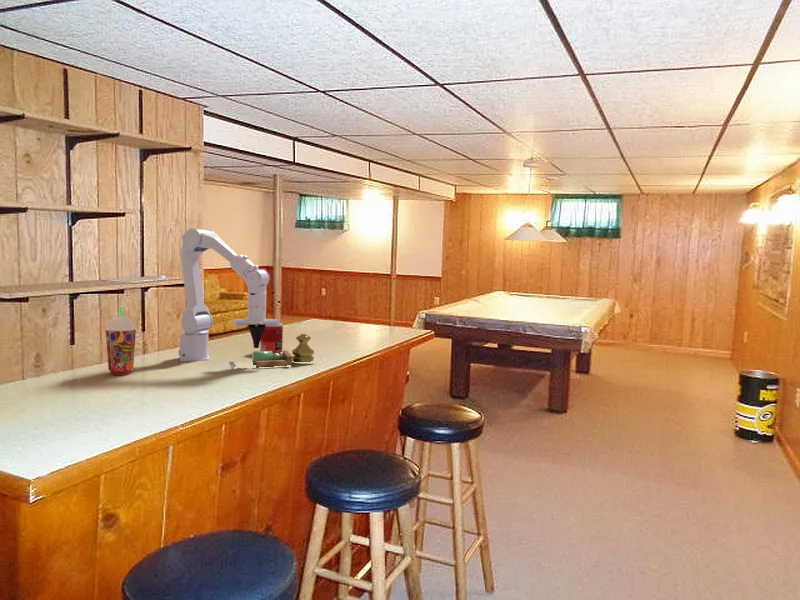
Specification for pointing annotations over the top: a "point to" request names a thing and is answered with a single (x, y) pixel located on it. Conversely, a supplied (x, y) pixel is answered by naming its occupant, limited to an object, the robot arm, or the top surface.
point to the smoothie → (120, 345)
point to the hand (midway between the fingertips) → (256, 347)
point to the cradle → (272, 361)
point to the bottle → (265, 356)
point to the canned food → (272, 339)
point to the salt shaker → (303, 350)
